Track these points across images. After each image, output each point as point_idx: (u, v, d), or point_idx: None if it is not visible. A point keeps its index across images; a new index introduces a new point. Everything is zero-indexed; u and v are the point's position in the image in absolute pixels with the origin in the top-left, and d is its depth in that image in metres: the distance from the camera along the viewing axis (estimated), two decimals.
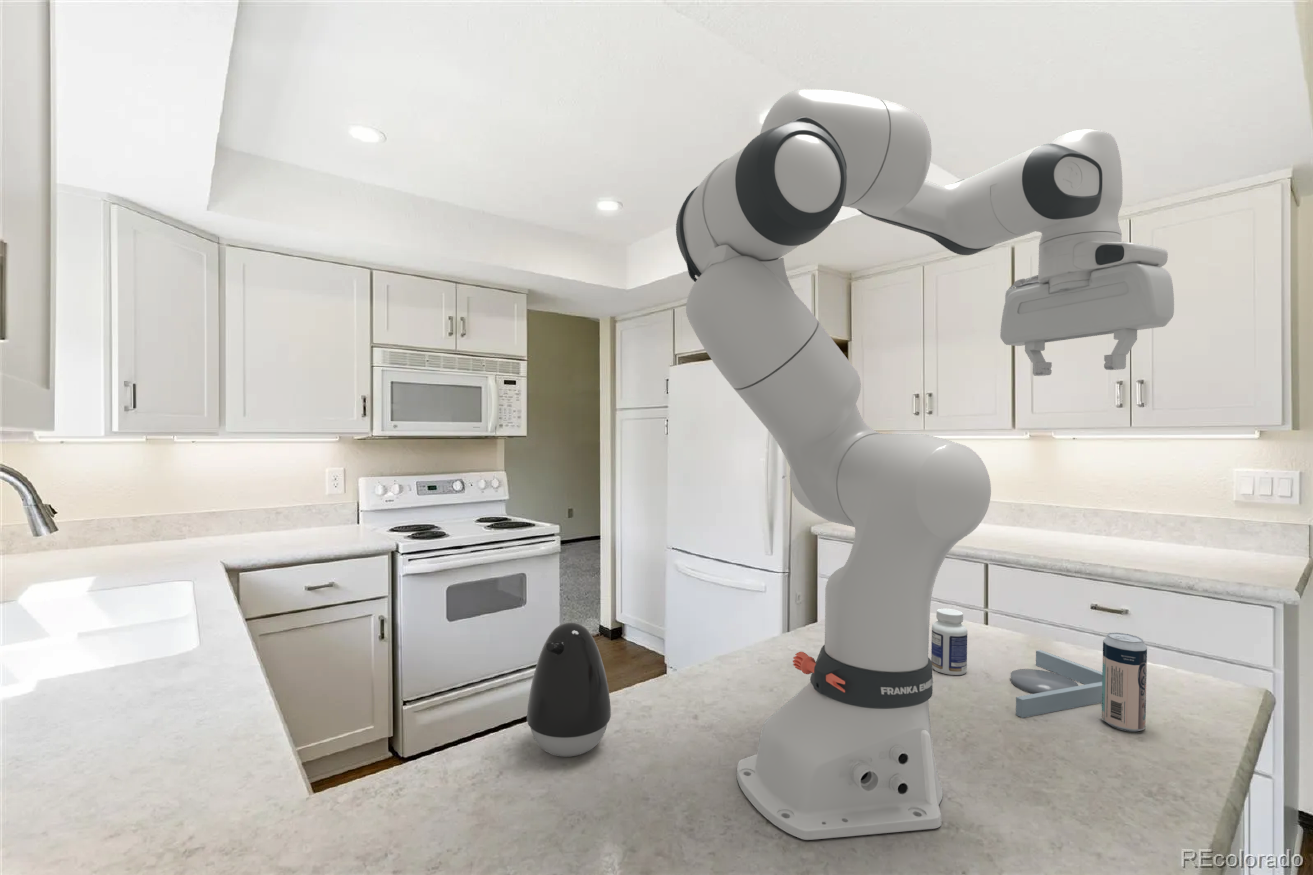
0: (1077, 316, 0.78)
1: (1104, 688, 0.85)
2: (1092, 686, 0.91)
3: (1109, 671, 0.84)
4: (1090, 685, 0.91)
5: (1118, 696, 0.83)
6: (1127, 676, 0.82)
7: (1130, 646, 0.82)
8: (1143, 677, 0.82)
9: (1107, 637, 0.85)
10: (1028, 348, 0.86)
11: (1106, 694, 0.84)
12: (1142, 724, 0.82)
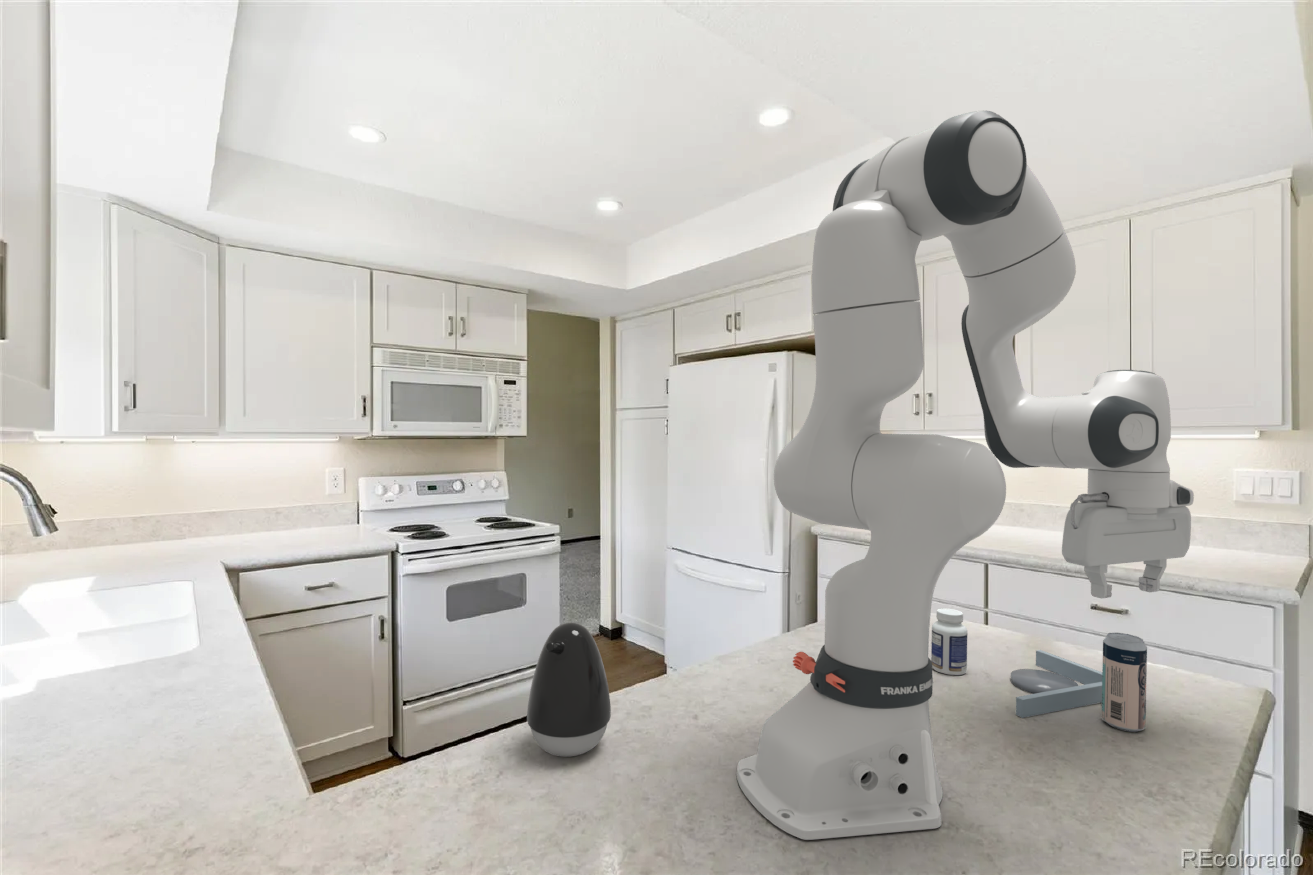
0: (1147, 544, 0.83)
1: (1104, 688, 0.85)
2: (1092, 686, 0.91)
3: (1109, 671, 0.84)
4: (1090, 685, 0.91)
5: (1118, 696, 0.83)
6: (1127, 676, 0.82)
7: (1130, 646, 0.82)
8: (1142, 677, 0.82)
9: (1107, 637, 0.85)
10: (1102, 571, 0.81)
11: (1106, 694, 0.84)
12: (1142, 724, 0.82)
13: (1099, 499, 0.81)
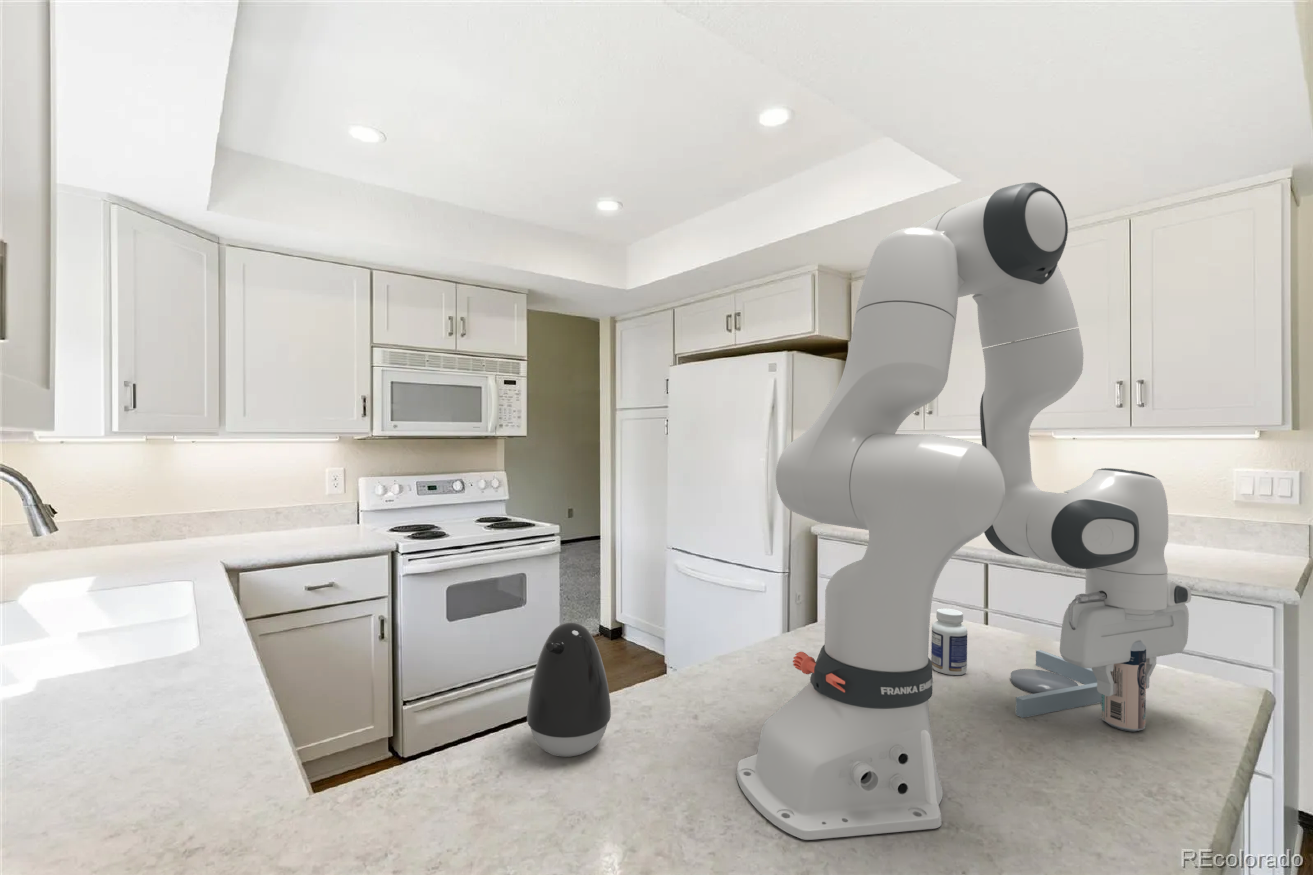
0: (1144, 643, 0.83)
1: None
2: (1092, 686, 0.91)
3: None
4: (1090, 685, 0.91)
5: (1118, 696, 0.83)
6: (1126, 676, 0.82)
7: None
8: (1142, 677, 0.82)
9: None
10: (1109, 669, 0.82)
11: None
12: (1142, 724, 0.82)
13: (1097, 599, 0.82)
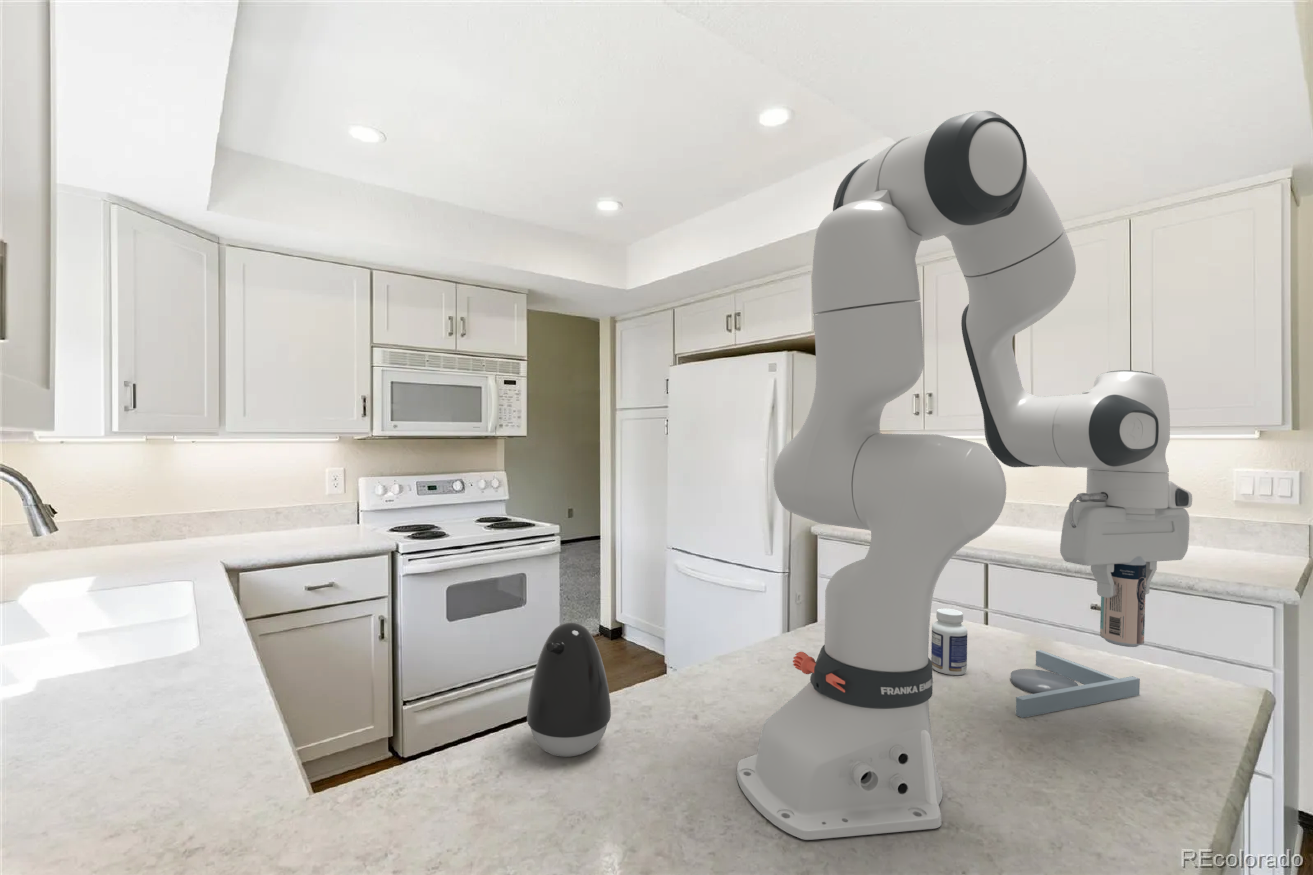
0: (1145, 545, 0.83)
1: (1103, 605, 0.85)
2: (1092, 686, 0.91)
3: None
4: (1090, 685, 0.91)
5: (1117, 611, 0.83)
6: (1126, 591, 0.82)
7: None
8: (1141, 591, 0.82)
9: None
10: (1109, 570, 0.82)
11: (1105, 611, 0.84)
12: (1141, 639, 0.82)
13: (1098, 499, 0.82)
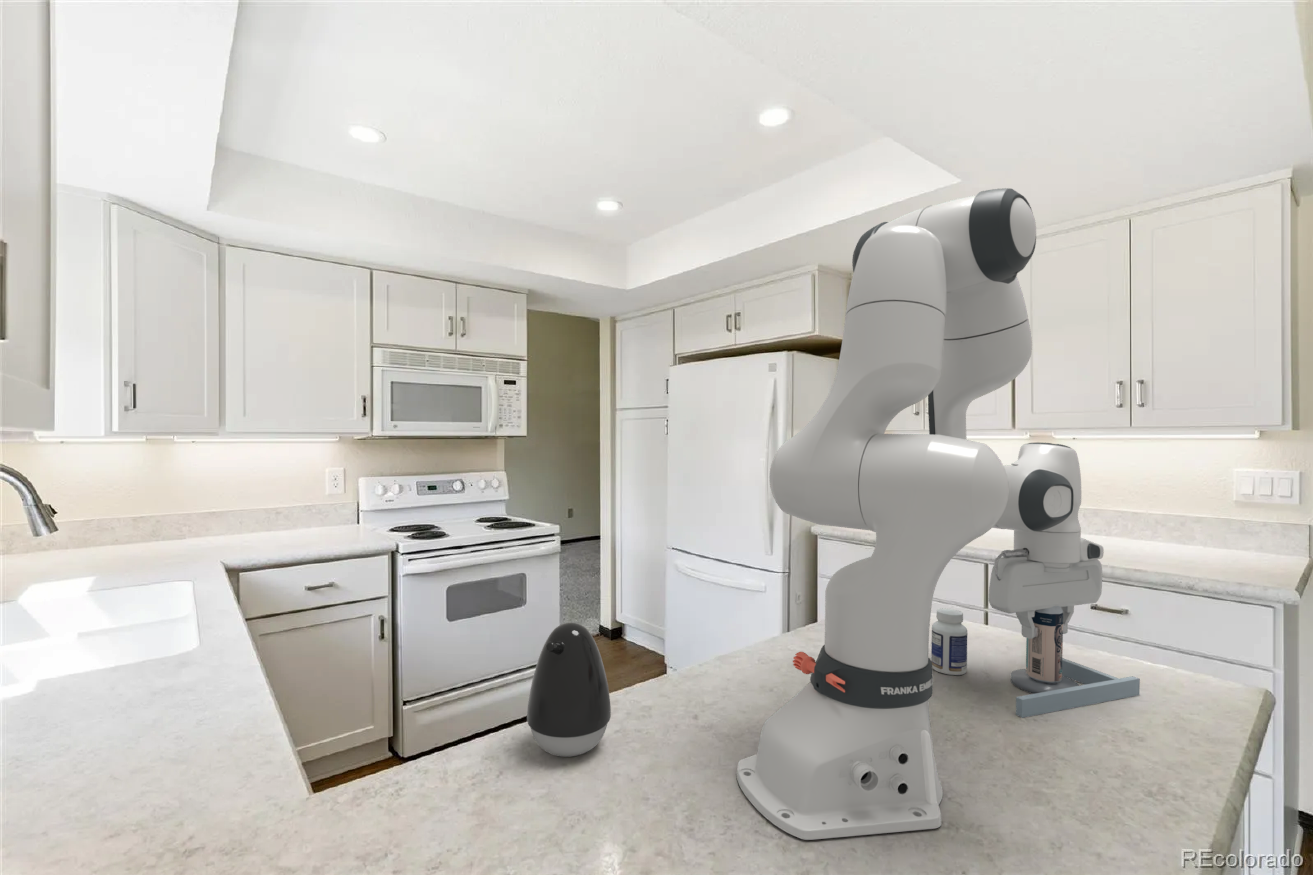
0: (1062, 593, 0.96)
1: (1027, 647, 0.98)
2: (1092, 686, 0.91)
3: None
4: (1090, 685, 0.91)
5: (1038, 653, 0.96)
6: (1045, 636, 0.95)
7: (1047, 610, 0.95)
8: (1058, 636, 0.95)
9: None
10: (1030, 615, 0.95)
11: (1029, 652, 0.97)
12: (1058, 677, 0.95)
13: (1020, 554, 0.95)
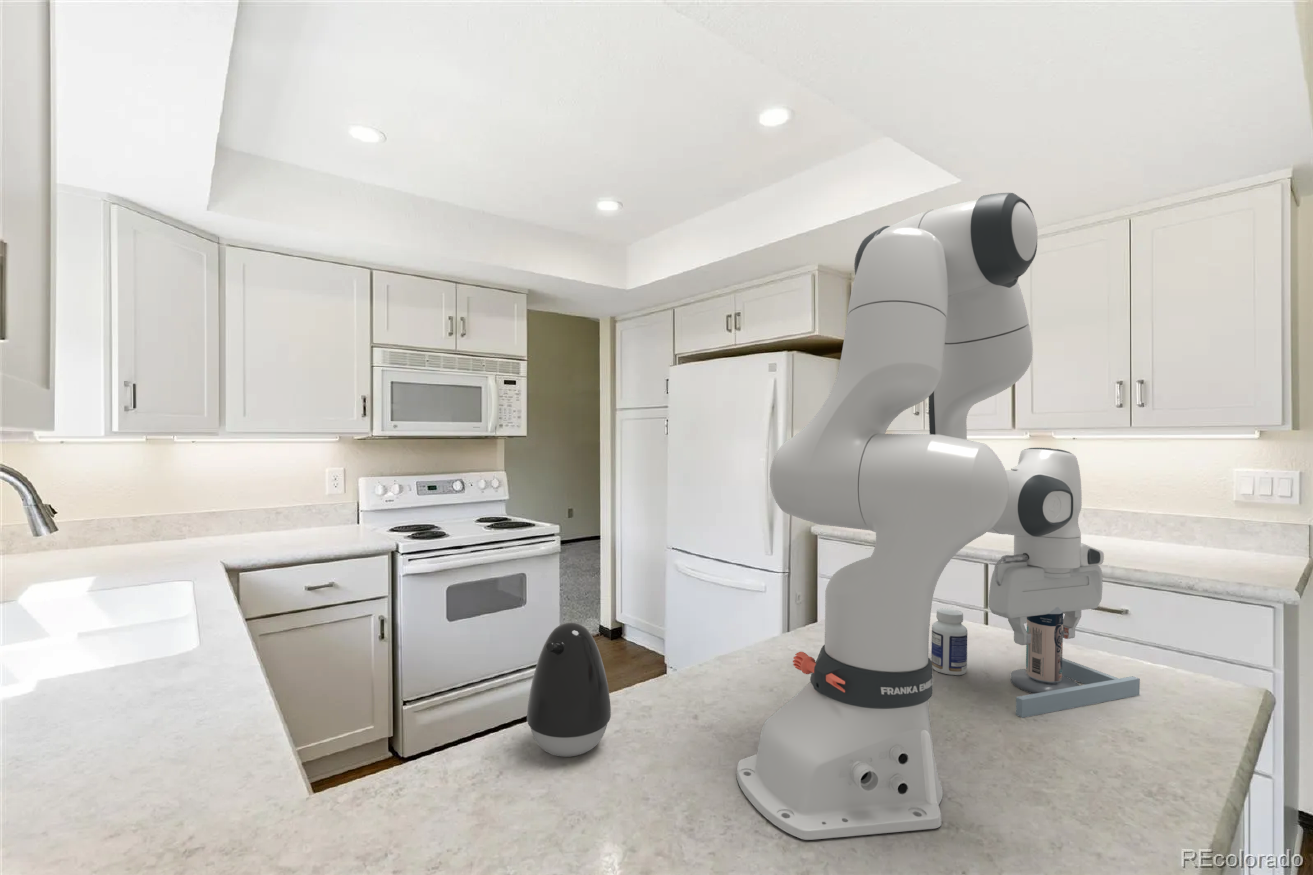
0: (1062, 598, 0.96)
1: (1027, 647, 0.98)
2: (1092, 686, 0.91)
3: (1031, 632, 0.97)
4: (1090, 685, 0.91)
5: (1038, 653, 0.96)
6: (1045, 636, 0.95)
7: None
8: (1058, 636, 0.95)
9: None
10: (1022, 622, 0.94)
11: (1029, 652, 0.97)
12: (1058, 677, 0.95)
13: (1020, 559, 0.95)
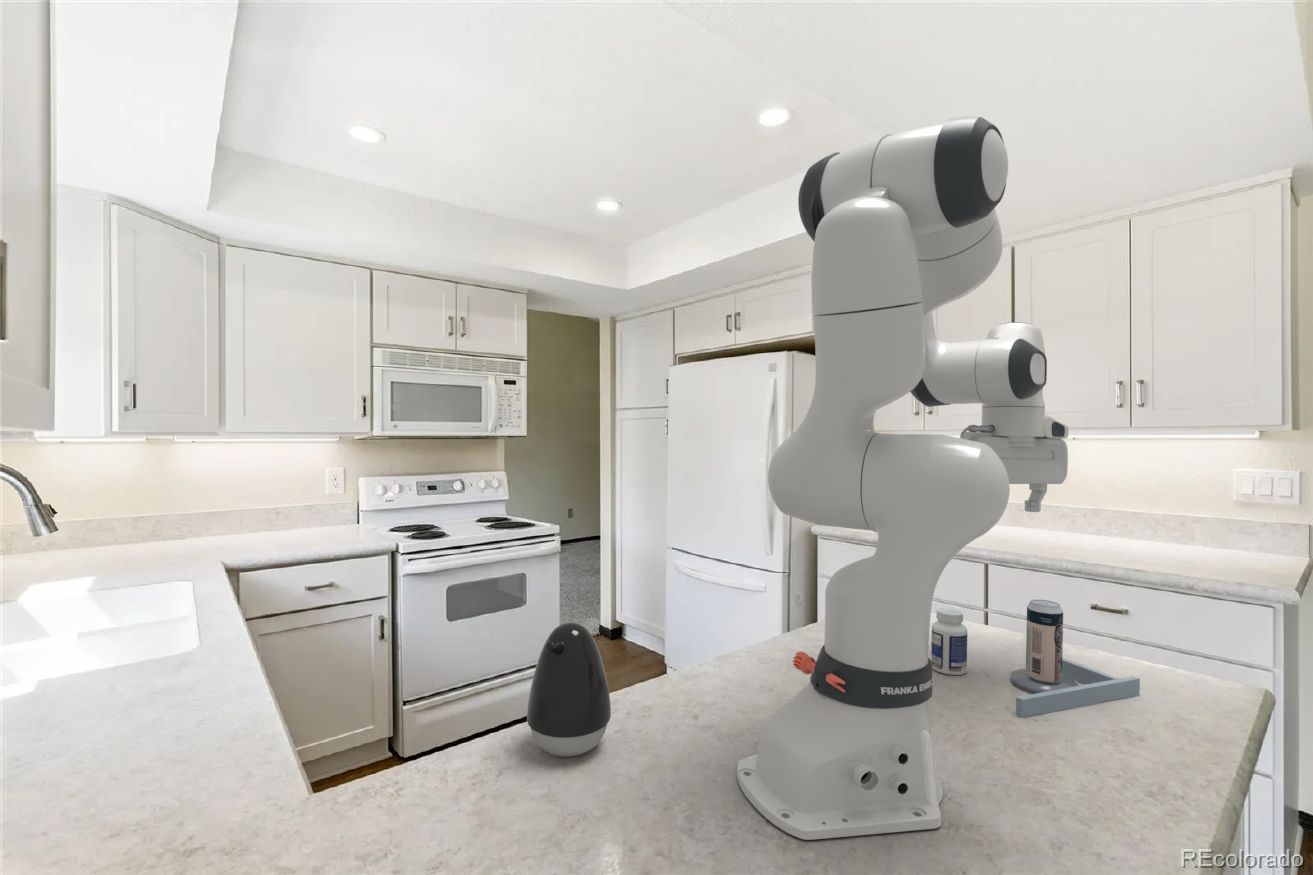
0: (1027, 469, 0.99)
1: (1027, 647, 0.98)
2: (1092, 686, 0.91)
3: (1031, 632, 0.97)
4: (1090, 685, 0.91)
5: (1038, 653, 0.96)
6: (1045, 636, 0.95)
7: (1047, 610, 0.95)
8: (1058, 636, 0.95)
9: (1030, 603, 0.98)
10: None
11: (1029, 652, 0.97)
12: (1058, 677, 0.95)
13: (985, 430, 0.98)
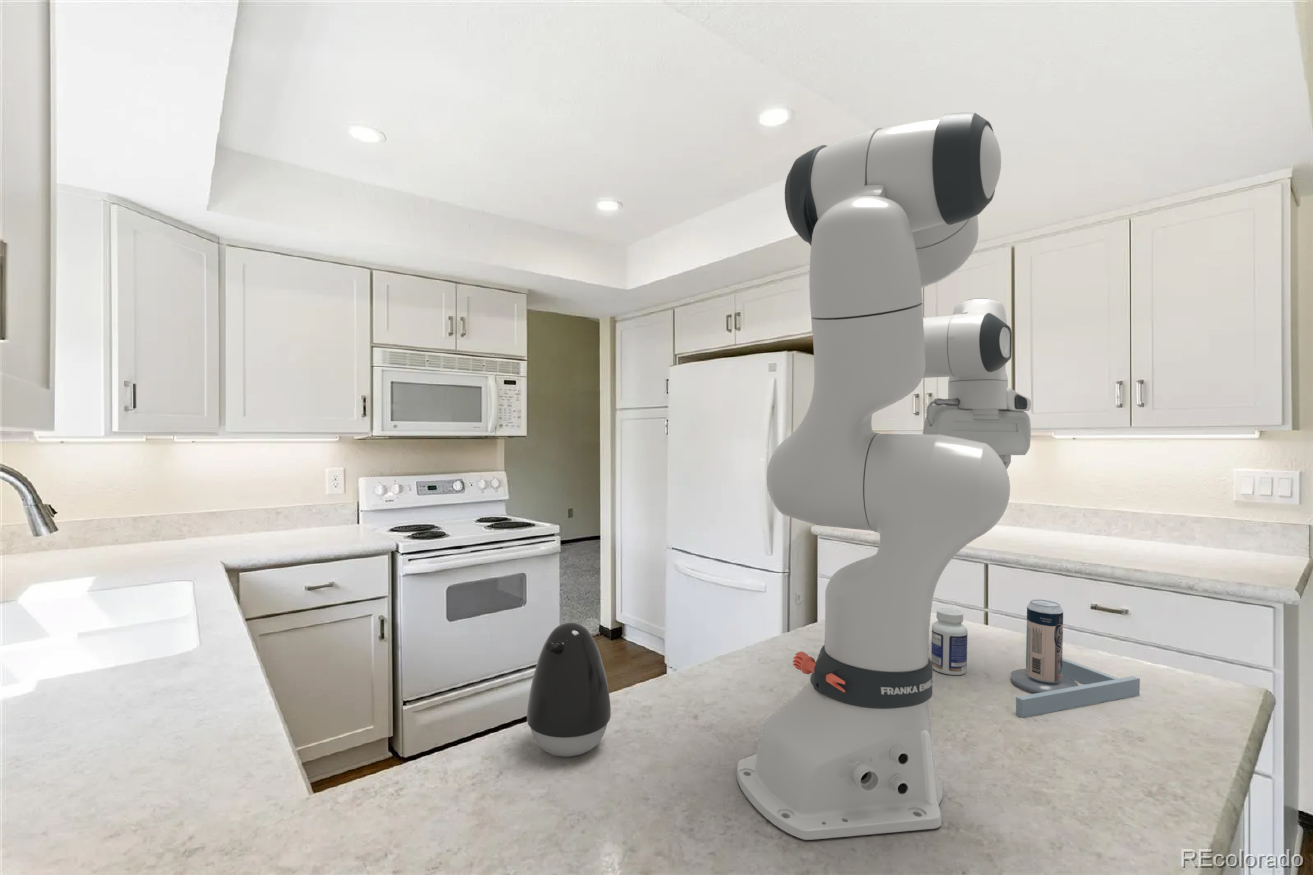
0: (991, 441, 1.02)
1: (1027, 647, 0.98)
2: (1092, 686, 0.91)
3: (1031, 632, 0.97)
4: (1090, 685, 0.91)
5: (1038, 653, 0.96)
6: (1045, 636, 0.95)
7: (1047, 610, 0.95)
8: (1058, 636, 0.95)
9: (1030, 603, 0.98)
10: None
11: (1029, 652, 0.97)
12: (1058, 677, 0.95)
13: (951, 403, 1.01)
